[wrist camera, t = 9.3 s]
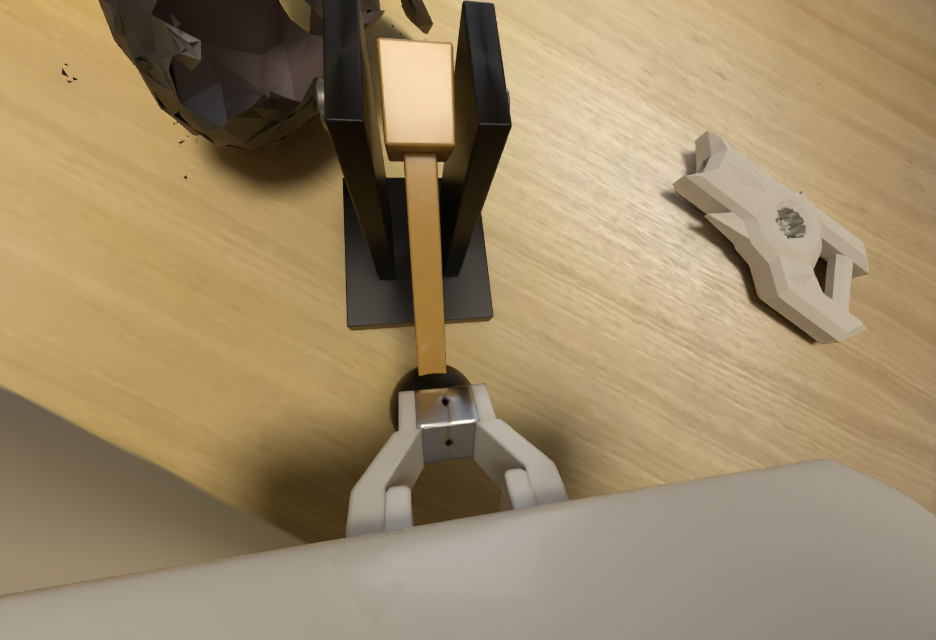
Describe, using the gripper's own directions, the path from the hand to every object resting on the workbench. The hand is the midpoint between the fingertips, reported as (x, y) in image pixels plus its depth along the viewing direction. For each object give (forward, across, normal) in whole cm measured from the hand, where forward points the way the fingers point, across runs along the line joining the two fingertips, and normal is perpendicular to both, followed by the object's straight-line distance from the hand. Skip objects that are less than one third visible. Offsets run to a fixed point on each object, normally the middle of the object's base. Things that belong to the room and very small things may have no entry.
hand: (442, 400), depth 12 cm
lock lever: (+5, 0, -2) cm, 6 cm away
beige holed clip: (+13, -27, 0) cm, 30 cm away
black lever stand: (+14, 0, 0) cm, 14 cm away
